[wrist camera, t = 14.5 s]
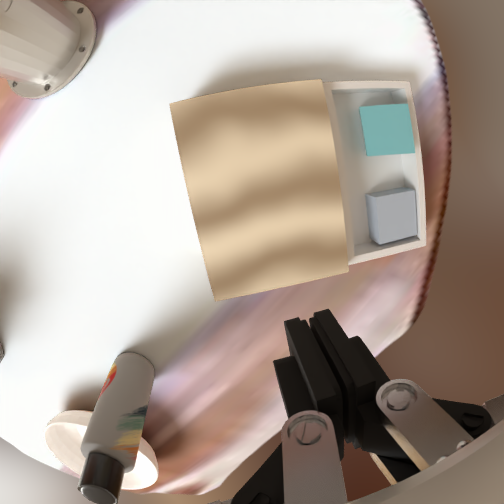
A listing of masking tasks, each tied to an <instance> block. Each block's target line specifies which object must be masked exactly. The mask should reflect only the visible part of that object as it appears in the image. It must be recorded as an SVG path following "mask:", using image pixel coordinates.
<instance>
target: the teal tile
mask: <svg viewBox="0 0 504 504" xmlns="http://www.w3.org/2000/svg"><path fill="white" fill-rule="evenodd" d="M359 114H360V120H361V126H362V132H363V138H364V144H365V151H366V155H367V157H368V156H380V155H394V154H411V153H415V146H414V138H413V131H412V125H411V118H410V112H409V107H408V103H407V104H388V105H374V106H363V107H359Z"/></svg>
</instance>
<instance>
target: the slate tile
mask: <svg viewBox="0 0 504 504" xmlns="http://www.w3.org/2000/svg"><path fill="white" fill-rule="evenodd" d="M365 199H366V208H367V217H368V227H369V238H370V239H372V240H373V241H375V242H377V243H378V244H384V243H387V242H391V241H395V240H399V239H403V238H407V237H411V236H414V235H417V218H416V201H415V190H412V189H408V188H404V187H400V188H395V189H389V190H384V191H378V192H373V193H368V194H365Z"/></svg>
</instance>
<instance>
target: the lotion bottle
mask: <svg viewBox="0 0 504 504" xmlns="http://www.w3.org/2000/svg"><path fill="white" fill-rule="evenodd" d="M154 376H155V371H154V367H153V365H152V364H151V363H150V361H149V360H148V359H146V358H145V357H143V356H142V355H139V354H137V353H131V352H127V353H123V354H120V355H119V356H118V357H117V358H116V359H115V361H114V363H113V365H112V367H111V369H110V372H109V374H108V376H107V379H106V381H105V383H104V386H103V388H102V391H101V393H100V396H99V398H98V401H97V403H96V406H95V408H94V411H93V413H92V416H91V418H90V421H89V424H88V426H87V429H86V432H85V434H84V437H83V440H82V443H81V447H80V450H81V453H82V454H83V456H84V457H85V458H86V459H85V463H84V466H83V470H82V473H81V477H80V480H79V485H78V490H79V491H80V492H81V493H82V494H83V496H84V497H86V498H87V499H88V500H90V501H92V502H94V503H97V504H117V503H118V500H119V496H120V491H121V486H122V482H123V477H124V473H128V472H130V471H132V470H133V469H134V467H135V464H136V459H137V454H138V449H139V444H140V439H141V435H142V430H143V425H144V421H145V416H146V412H147V407H148V403H149V399H150V394H151V390H152V386H153V381H154Z"/></svg>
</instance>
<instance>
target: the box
mask: <svg viewBox="0 0 504 504" xmlns="http://www.w3.org/2000/svg"><path fill="white" fill-rule="evenodd" d="M322 84H323V88H324V93H325V98H326V103H327V108H328V113H329V118H330V124H331V129H332V135H333V141H334V147H335V153H336V159H337V166H338V173H339V180H340V188H341V195H342V204H343V212H344V222H345V231H346V242H347V254H348V265H351V264H355V263H360V262H364V261H368V260H372V259H376V258H380V257H384V256H388V255H392V254H396V253H400V252H403V251H407V250H411V249H415V248H419V247H423V246H426V210H425V190H424V176H423V165H422V155H421V147H420V139H419V132H418V125H417V119H416V113H415V107H414V101H413V96H412V91H411V86H410V82H409V81H336V82H322ZM407 103H408V107H409V112H410V118H411V125H412V131H413V138H414V146H415V153H411V154H394V155H380V156H368V157H367V155H366V151H365V144H364V138H363V132H362V126H361V120H360V114H359V107H363V106H374V105H388V104H407ZM400 187H404V188H408V189H412V190H415V201H416V218H417V235H414V236H411V237H407V238H403V239H399V240H395V241H391V242H387V243H384V244H378V243H377V242H375V241H373V240H372V239H370V238H369V227H368V217H367V208H366V199H365V194H368V193H373V192H378V191H384V190H389V189H395V188H400Z"/></svg>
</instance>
